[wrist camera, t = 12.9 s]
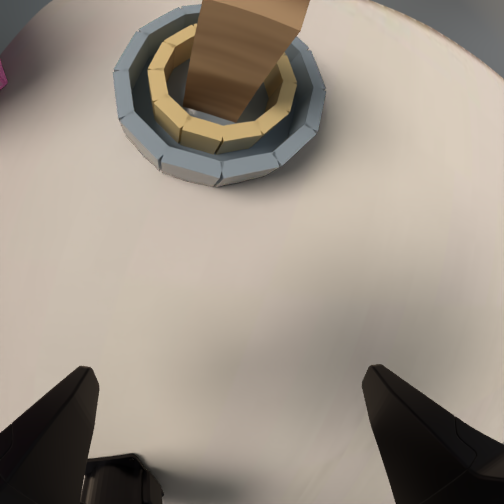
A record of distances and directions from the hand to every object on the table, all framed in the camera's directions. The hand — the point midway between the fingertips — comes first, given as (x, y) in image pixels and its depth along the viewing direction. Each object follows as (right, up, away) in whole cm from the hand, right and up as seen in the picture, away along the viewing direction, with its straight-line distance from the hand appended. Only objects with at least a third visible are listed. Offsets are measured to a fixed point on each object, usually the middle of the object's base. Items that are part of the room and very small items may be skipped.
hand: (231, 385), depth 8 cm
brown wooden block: (-2, +16, +10) cm, 19 cm away
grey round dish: (-2, +16, +11) cm, 19 cm away
